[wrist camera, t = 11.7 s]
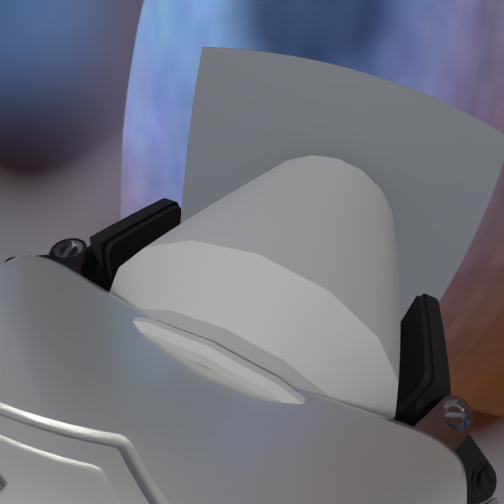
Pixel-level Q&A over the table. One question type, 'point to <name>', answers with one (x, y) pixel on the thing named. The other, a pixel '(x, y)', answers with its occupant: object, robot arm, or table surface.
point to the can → (282, 286)
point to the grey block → (347, 149)
